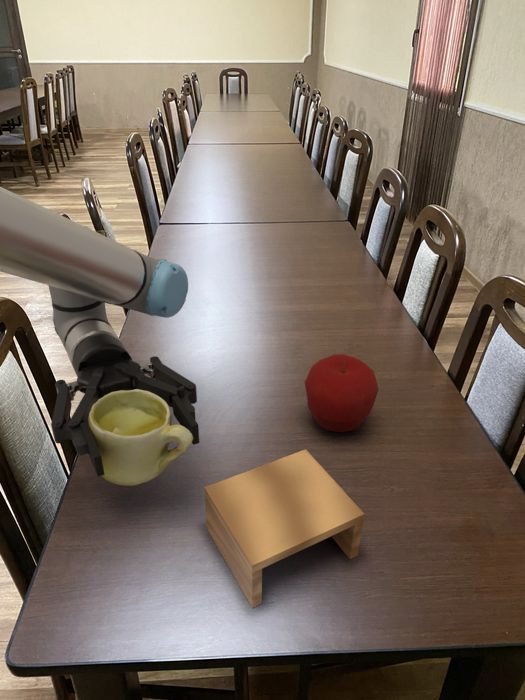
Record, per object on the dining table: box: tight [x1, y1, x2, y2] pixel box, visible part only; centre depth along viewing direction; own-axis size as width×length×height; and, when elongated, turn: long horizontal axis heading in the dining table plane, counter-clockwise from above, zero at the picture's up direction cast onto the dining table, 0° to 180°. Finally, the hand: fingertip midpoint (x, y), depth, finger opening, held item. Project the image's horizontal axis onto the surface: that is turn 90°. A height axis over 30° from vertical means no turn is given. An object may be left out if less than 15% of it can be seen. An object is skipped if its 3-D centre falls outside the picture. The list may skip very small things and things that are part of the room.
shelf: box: [203, 448, 365, 609], centre depth 62 cm, size 14×12×7 cm
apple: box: [304, 353, 379, 433], centre depth 80 cm, size 11×11×12 cm
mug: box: [88, 389, 193, 487], centre depth 64 cm, size 12×10×10 cm
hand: (149, 450), depth 59 cm, fingers closed on mug, 10 cm apart
